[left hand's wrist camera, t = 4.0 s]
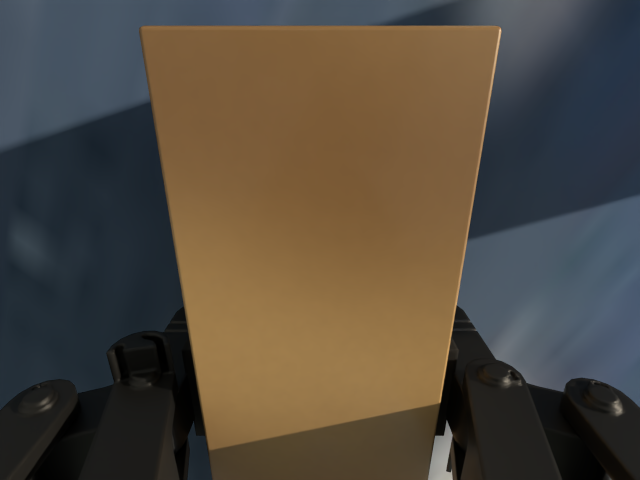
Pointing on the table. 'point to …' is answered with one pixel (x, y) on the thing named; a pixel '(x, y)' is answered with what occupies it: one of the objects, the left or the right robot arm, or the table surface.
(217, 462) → the bar
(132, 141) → the table surface
